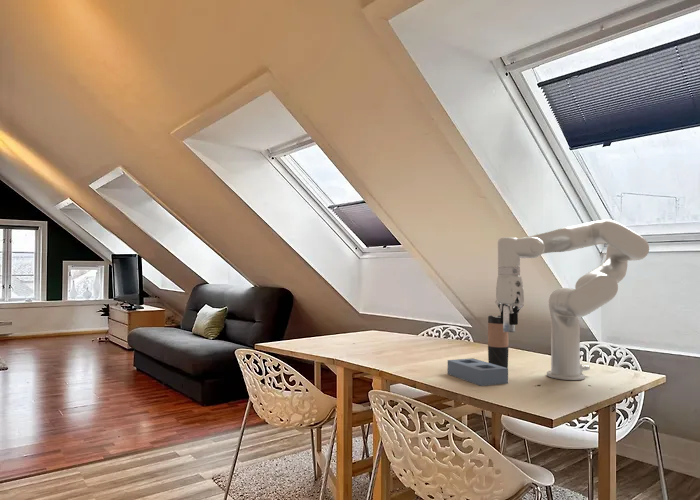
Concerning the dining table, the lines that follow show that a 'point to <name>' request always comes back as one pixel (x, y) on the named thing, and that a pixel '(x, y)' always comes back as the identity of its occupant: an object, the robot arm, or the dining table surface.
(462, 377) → the block
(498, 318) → the travel mug
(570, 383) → the dining table surface
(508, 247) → the robot arm
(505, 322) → the bushing
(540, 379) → the dining table surface
